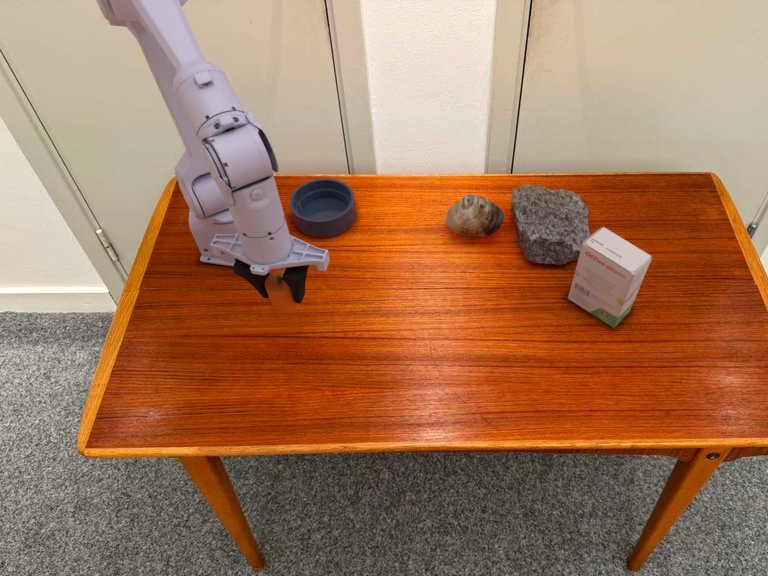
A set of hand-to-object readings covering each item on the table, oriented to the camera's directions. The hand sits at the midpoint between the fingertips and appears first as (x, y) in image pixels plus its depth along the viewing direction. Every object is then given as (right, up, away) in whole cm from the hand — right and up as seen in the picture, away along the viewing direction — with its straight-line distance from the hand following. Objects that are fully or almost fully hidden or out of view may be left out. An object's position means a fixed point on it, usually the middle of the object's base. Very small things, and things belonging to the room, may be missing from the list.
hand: (284, 295), depth 85 cm
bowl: (+2, +14, +21) cm, 25 cm away
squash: (0, -1, +1) cm, 1 cm away
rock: (+38, +11, +19) cm, 44 cm away
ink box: (+45, -1, +10) cm, 46 cm away
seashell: (+26, +11, +19) cm, 34 cm away
